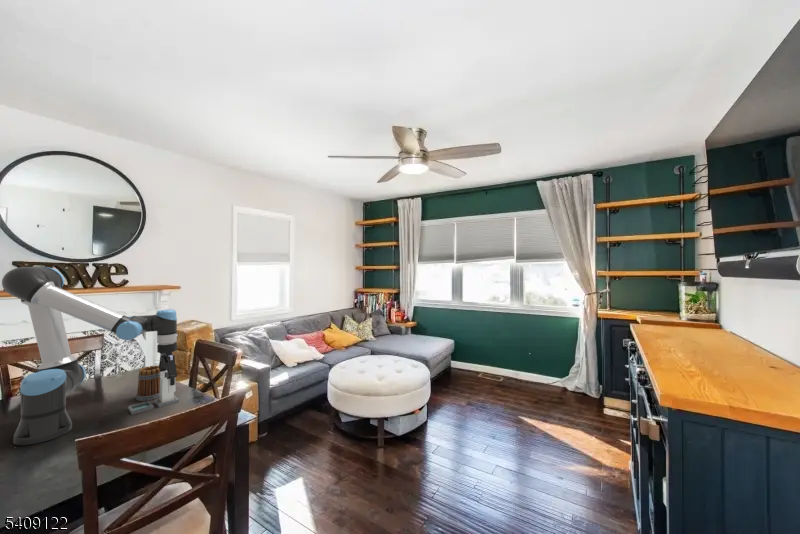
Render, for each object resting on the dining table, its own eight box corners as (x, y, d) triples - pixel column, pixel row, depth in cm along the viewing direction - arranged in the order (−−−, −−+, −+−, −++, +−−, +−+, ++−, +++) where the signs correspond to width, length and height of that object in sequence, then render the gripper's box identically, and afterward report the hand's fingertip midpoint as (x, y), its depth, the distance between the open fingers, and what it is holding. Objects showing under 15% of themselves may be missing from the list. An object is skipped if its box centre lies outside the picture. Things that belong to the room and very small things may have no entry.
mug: (152, 403, 154) (152, 371, 153) (130, 403, 154) (130, 371, 154) (175, 390, 169) (176, 361, 169) (155, 390, 169) (155, 361, 169)
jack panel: (131, 418, 139) (131, 412, 139) (126, 410, 146) (126, 405, 146) (180, 405, 152) (180, 400, 152) (174, 398, 159) (174, 393, 159)
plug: (162, 405, 150) (162, 374, 149) (159, 402, 152) (159, 372, 152) (175, 401, 153) (176, 372, 153) (173, 399, 156) (173, 369, 156)
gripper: (184, 345, 147) (185, 392, 147) (169, 337, 164) (169, 379, 164) (164, 349, 141) (165, 398, 142) (150, 340, 158) (151, 384, 158)
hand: (167, 388), depth 153 cm, fingers open, 13 cm apart
